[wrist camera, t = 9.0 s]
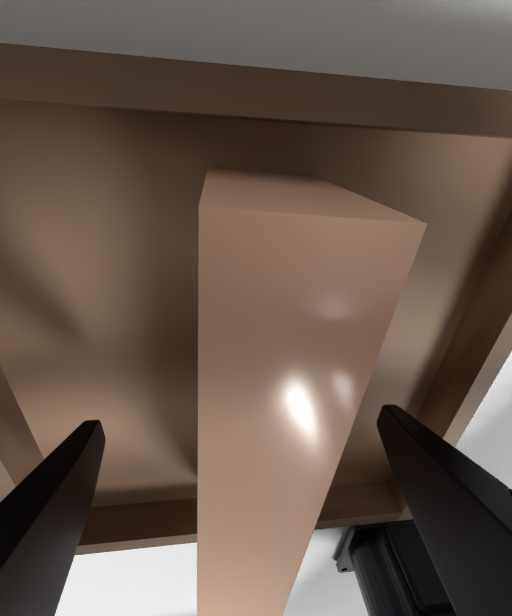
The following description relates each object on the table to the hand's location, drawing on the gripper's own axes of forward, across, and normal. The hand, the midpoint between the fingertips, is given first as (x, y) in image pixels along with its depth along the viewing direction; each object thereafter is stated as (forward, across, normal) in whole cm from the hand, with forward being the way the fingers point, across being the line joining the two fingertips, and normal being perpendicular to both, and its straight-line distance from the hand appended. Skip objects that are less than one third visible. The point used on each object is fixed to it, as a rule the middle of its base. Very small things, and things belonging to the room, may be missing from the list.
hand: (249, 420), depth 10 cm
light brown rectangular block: (+2, 0, 0) cm, 2 cm away
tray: (+3, 0, 0) cm, 3 cm away
